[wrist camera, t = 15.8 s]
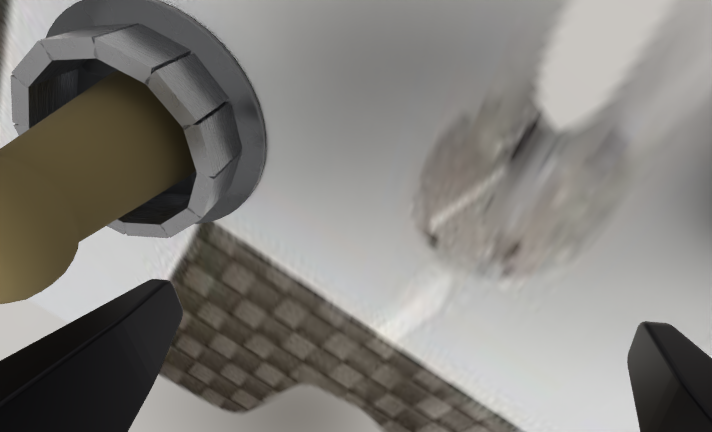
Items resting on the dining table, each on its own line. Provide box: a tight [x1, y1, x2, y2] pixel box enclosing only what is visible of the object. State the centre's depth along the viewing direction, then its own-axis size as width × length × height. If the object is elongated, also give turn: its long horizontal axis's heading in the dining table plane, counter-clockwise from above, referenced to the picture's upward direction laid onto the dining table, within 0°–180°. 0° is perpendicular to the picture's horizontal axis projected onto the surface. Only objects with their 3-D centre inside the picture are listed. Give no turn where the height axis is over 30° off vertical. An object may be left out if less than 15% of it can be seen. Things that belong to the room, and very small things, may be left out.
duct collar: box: [11, 0, 266, 238], centre depth 21 cm, size 12×12×4 cm
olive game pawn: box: [0, 70, 196, 304], centre depth 18 cm, size 6×6×11 cm
